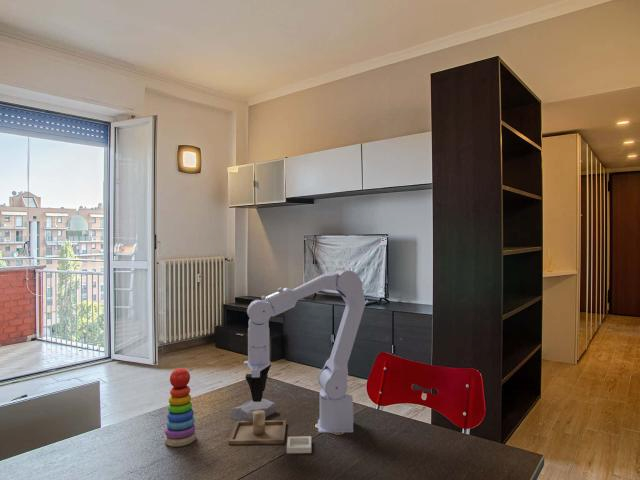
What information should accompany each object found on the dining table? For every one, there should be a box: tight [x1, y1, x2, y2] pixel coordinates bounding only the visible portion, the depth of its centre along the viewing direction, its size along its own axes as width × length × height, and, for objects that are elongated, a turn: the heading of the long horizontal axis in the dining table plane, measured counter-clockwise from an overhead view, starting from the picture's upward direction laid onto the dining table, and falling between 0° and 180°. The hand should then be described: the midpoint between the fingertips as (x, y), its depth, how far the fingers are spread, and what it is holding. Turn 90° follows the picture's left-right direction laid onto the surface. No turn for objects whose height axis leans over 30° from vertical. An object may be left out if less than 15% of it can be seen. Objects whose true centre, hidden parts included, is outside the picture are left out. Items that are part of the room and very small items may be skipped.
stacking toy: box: [164, 367, 197, 448], centre depth 112 cm, size 8×8×19 cm
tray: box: [228, 419, 287, 446], centre depth 116 cm, size 14×12×1 cm
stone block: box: [230, 398, 278, 421], centre depth 129 cm, size 12×5×10 cm
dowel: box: [253, 410, 266, 436], centre depth 116 cm, size 3×3×6 cm
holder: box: [286, 435, 312, 454], centre depth 108 cm, size 6×6×2 cm
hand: (258, 395), depth 116 cm, fingers open, 7 cm apart
